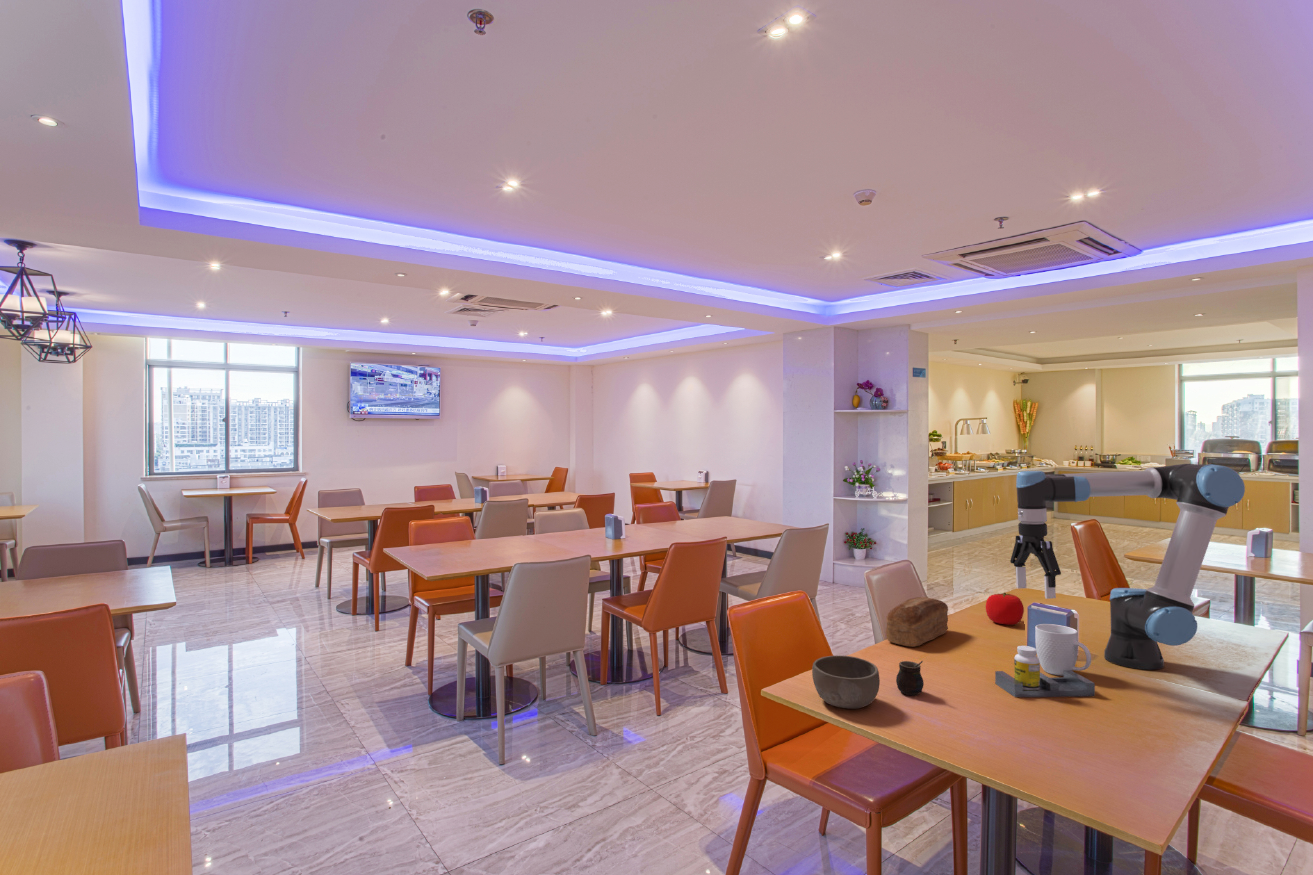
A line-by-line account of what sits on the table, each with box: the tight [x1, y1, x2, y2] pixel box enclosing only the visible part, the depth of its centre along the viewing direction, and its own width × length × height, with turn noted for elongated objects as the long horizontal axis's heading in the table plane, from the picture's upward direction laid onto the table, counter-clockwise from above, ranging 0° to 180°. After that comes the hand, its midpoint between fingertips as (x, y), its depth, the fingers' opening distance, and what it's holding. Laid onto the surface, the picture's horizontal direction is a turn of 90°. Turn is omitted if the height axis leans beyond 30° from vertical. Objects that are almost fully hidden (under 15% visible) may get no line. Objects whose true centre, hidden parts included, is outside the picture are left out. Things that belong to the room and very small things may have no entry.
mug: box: [1034, 623, 1092, 677], centre depth 196 cm, size 15×11×13 cm
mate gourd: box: [895, 660, 925, 697], centre depth 182 cm, size 7×8×10 cm
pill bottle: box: [1013, 645, 1041, 690], centre depth 183 cm, size 6×6×11 cm
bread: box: [885, 596, 949, 648], centre depth 233 cm, size 12×31×14 cm, turn 134°
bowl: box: [811, 655, 881, 710], centre depth 176 cm, size 17×18×10 cm
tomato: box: [985, 592, 1025, 626], centre depth 251 cm, size 13×14×12 cm
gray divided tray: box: [994, 670, 1096, 698], centre depth 184 cm, size 22×10×4 cm, turn 91°
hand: (1035, 593), depth 197 cm, fingers open, 13 cm apart
